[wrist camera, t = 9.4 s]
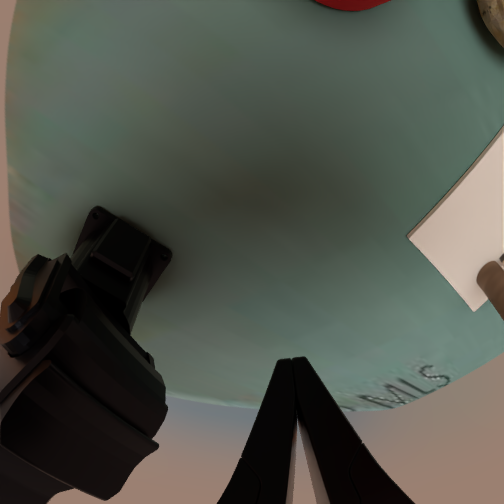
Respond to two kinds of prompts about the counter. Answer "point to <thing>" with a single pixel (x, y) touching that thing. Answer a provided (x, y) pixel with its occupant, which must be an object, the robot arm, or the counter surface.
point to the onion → (493, 17)
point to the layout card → (468, 225)
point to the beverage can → (352, 4)
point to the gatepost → (493, 284)
